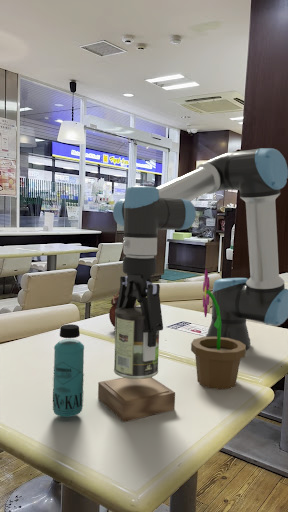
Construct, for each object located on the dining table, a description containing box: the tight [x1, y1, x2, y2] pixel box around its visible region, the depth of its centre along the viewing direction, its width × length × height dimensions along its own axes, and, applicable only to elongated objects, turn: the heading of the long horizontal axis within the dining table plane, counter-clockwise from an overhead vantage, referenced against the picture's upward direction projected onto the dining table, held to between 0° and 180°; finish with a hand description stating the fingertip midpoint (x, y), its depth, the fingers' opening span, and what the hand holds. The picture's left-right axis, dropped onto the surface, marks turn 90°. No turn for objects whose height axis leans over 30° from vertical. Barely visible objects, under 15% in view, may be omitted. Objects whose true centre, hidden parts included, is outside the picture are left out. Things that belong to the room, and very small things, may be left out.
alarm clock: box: [108, 291, 137, 331], centre depth 159 cm, size 11×5×15 cm, turn 58°
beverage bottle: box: [51, 324, 85, 418], centre depth 90 cm, size 6×7×20 cm
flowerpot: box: [190, 268, 247, 390], centre depth 112 cm, size 14×14×30 cm
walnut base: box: [97, 377, 176, 423], centre depth 98 cm, size 13×13×4 cm
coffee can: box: [113, 305, 160, 379], centre depth 97 cm, size 10×10×14 cm
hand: (136, 353), depth 97 cm, fingers closed on coffee can, 10 cm apart
